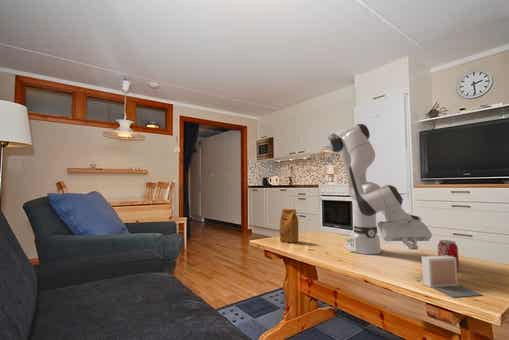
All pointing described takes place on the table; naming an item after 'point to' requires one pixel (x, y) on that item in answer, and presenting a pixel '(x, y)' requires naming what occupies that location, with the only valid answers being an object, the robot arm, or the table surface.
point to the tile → (439, 271)
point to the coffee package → (289, 226)
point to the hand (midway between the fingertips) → (414, 248)
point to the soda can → (448, 250)
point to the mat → (457, 291)
